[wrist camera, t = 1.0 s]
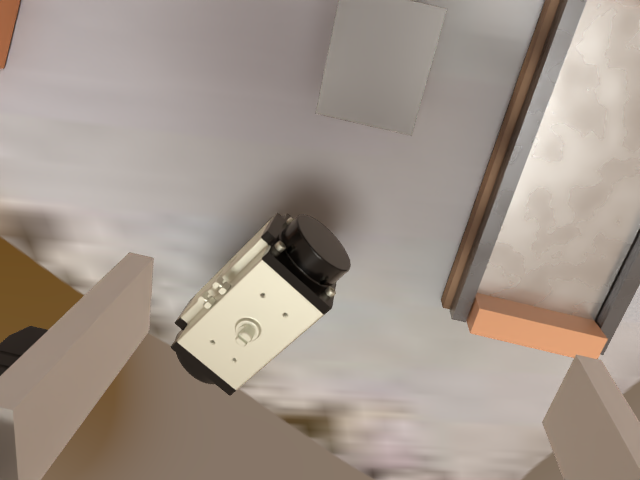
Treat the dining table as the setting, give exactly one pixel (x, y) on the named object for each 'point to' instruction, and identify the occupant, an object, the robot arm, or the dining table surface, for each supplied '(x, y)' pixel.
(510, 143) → the rail board
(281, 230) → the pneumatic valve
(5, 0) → the whiskey bottle
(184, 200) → the dining table surface
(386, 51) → the din module
